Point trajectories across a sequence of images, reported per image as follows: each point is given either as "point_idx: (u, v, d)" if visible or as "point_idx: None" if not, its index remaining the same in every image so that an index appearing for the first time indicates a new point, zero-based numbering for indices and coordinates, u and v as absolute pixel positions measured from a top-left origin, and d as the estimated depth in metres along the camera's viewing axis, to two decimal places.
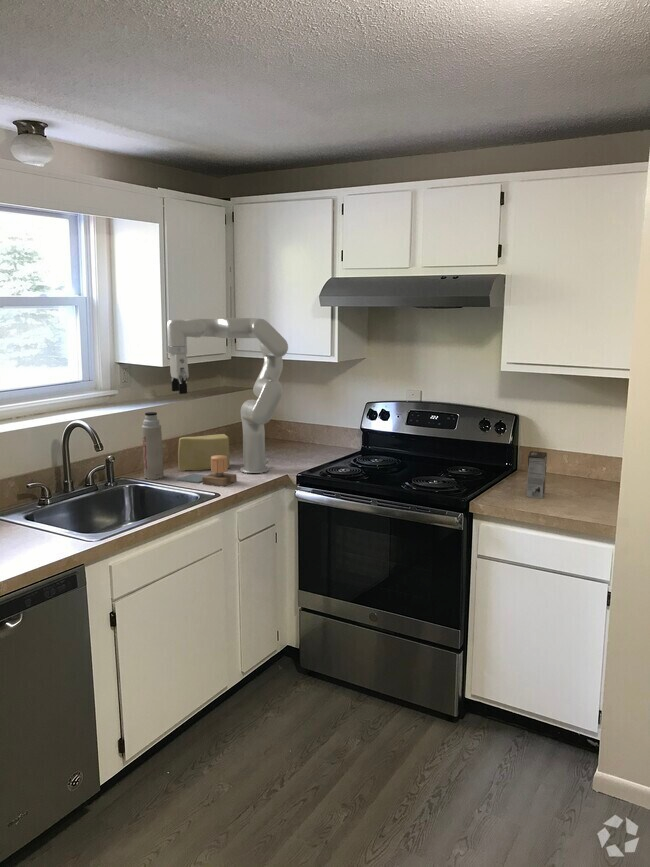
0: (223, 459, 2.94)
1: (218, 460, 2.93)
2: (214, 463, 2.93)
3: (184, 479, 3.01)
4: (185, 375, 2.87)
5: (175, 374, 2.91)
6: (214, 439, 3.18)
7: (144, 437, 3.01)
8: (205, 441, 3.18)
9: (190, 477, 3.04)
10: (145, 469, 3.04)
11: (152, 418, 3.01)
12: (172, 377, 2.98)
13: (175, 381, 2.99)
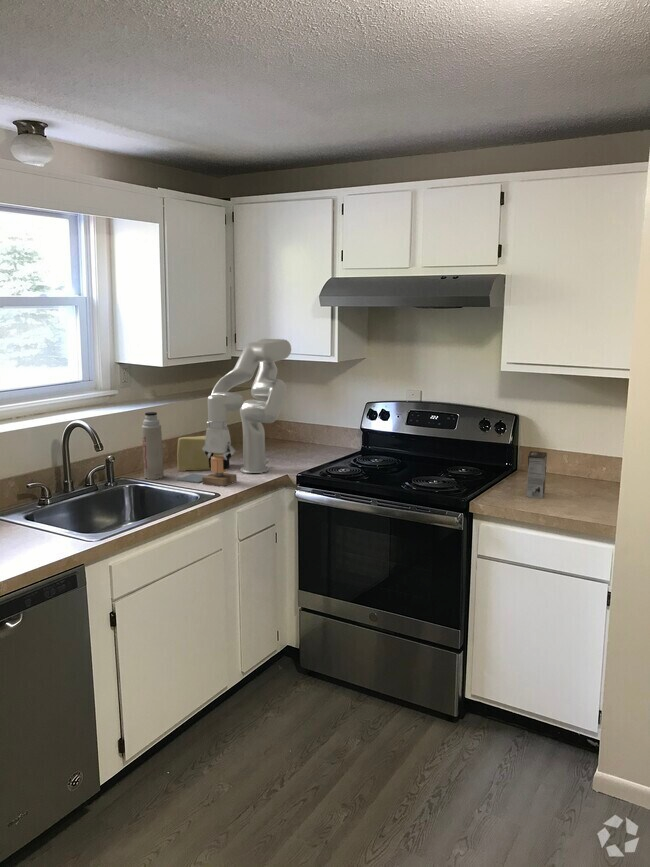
0: (223, 459, 2.94)
1: (218, 460, 2.93)
2: (214, 463, 2.93)
3: (184, 479, 3.01)
4: None
5: None
6: None
7: (144, 437, 3.01)
8: (204, 441, 3.17)
9: (190, 477, 3.04)
10: (145, 469, 3.04)
11: (152, 418, 3.01)
12: (227, 453, 2.95)
13: None
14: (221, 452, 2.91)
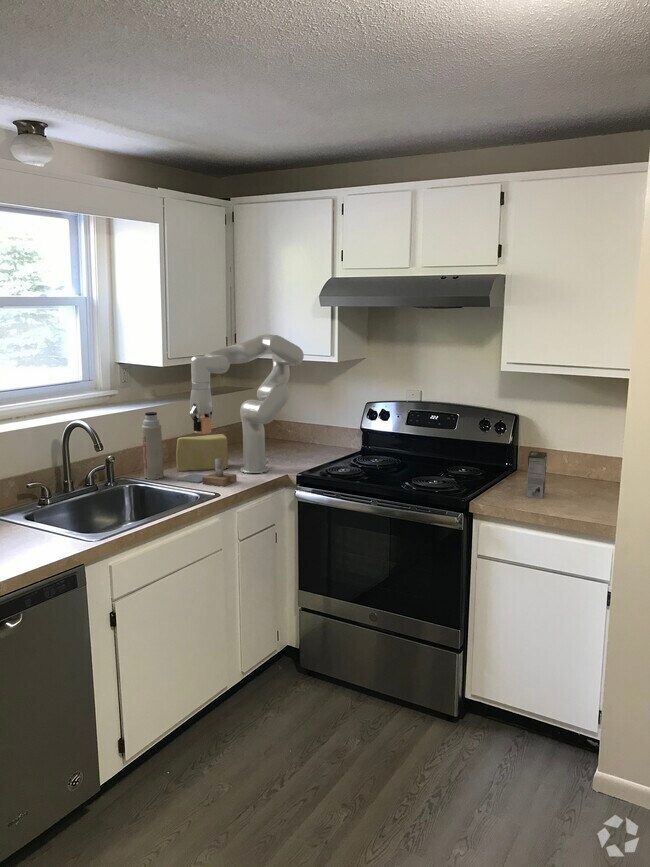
0: None
1: None
2: None
3: (184, 479, 3.01)
4: None
5: (209, 408, 2.98)
6: (212, 439, 3.18)
7: (144, 437, 3.01)
8: (203, 441, 3.17)
9: (190, 477, 3.04)
10: (145, 469, 3.04)
11: (152, 418, 3.01)
12: (200, 416, 2.93)
13: None
14: None
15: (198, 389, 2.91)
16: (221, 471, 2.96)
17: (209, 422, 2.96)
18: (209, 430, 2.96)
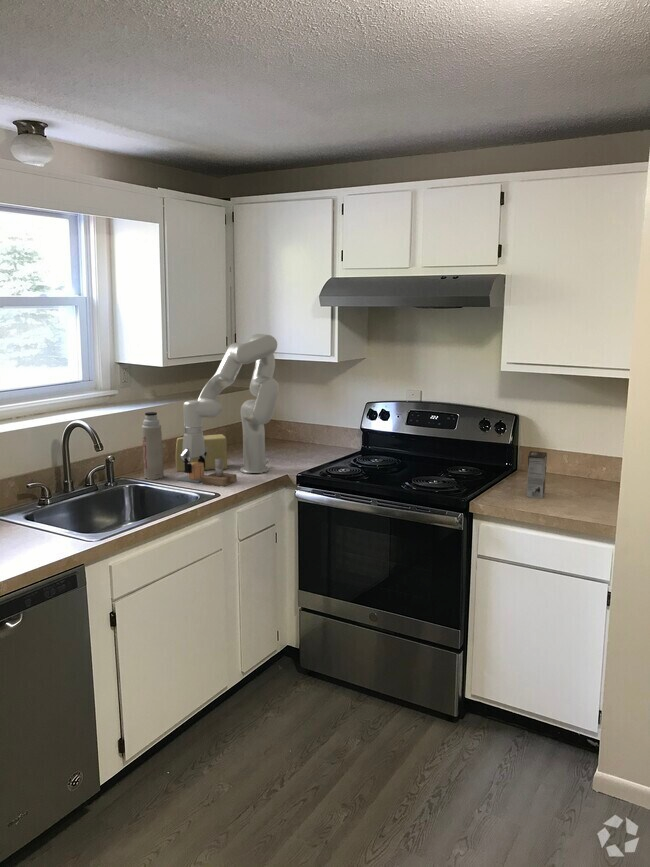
0: None
1: None
2: None
3: (184, 479, 3.01)
4: None
5: (202, 451, 3.04)
6: (212, 439, 3.18)
7: (144, 437, 3.01)
8: None
9: None
10: (145, 469, 3.04)
11: (152, 418, 3.01)
12: (191, 459, 2.98)
13: None
14: None
15: (190, 433, 2.97)
16: (221, 471, 2.96)
17: (202, 468, 3.02)
18: (202, 475, 3.03)
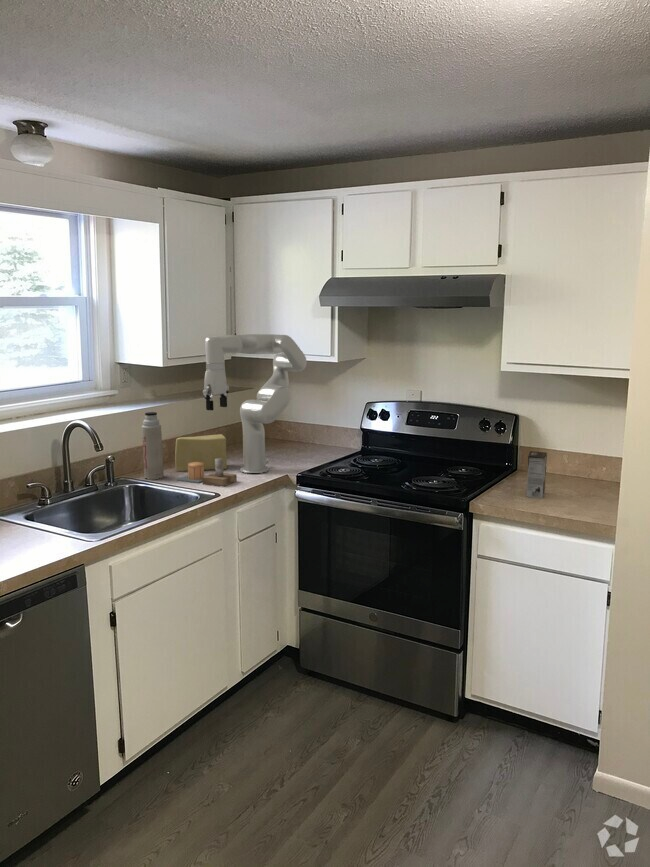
0: (189, 466, 3.01)
1: (188, 465, 3.03)
2: None
3: (184, 479, 3.01)
4: None
5: (224, 389, 2.97)
6: (211, 439, 3.18)
7: (144, 437, 3.01)
8: (202, 441, 3.17)
9: None
10: (145, 469, 3.04)
11: (152, 418, 3.01)
12: (213, 396, 2.92)
13: None
14: None
15: (212, 369, 2.91)
16: (221, 471, 2.96)
17: (202, 468, 3.02)
18: (202, 475, 3.03)
